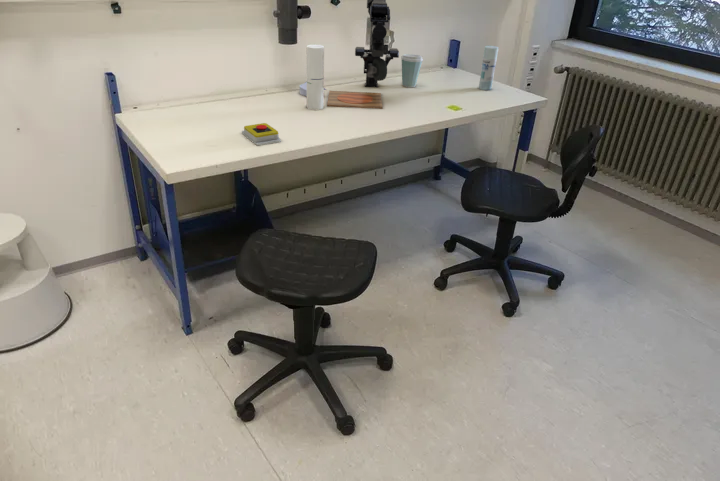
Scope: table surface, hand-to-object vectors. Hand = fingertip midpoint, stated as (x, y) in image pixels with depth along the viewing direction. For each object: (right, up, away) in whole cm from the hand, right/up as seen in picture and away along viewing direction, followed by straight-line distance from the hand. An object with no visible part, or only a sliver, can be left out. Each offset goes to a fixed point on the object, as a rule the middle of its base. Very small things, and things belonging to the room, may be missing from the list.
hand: (375, 72), depth 235 cm
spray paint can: (+56, +2, +33) cm, 65 cm away
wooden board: (-9, -11, +5) cm, 15 cm away
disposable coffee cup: (+18, +3, +31) cm, 36 cm away
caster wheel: (0, -2, +1) cm, 3 cm away
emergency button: (-43, -36, -40) cm, 69 cm away
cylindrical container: (-26, -17, -6) cm, 32 cm away
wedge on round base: (-29, -7, +10) cm, 32 cm away
